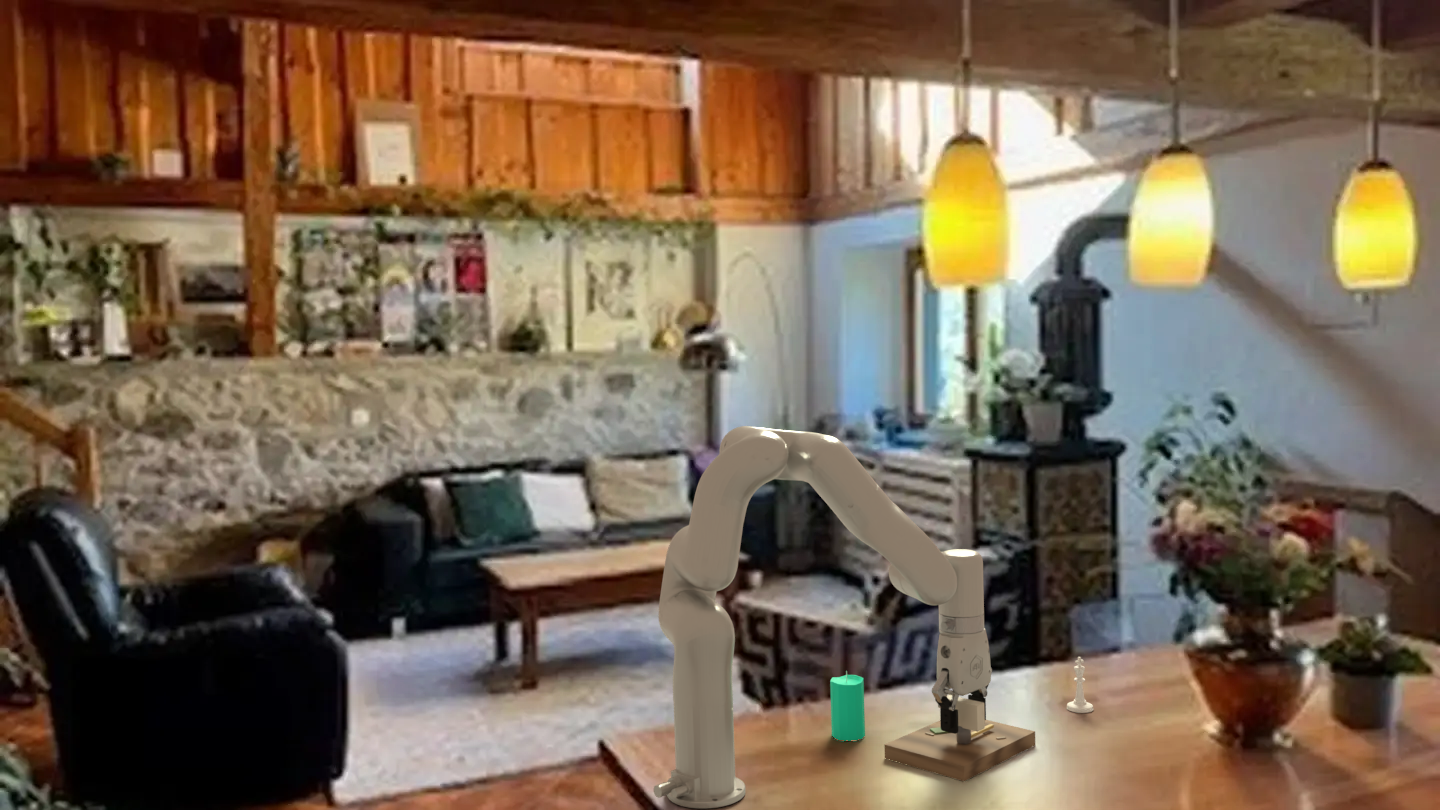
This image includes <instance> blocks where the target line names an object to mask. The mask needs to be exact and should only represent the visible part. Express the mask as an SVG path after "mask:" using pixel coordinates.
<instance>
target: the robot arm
mask: <svg viewBox="0 0 1440 810" xmlns="http://www.w3.org/2000/svg"><path fill="white" fill-rule="evenodd" d="M773 480H781V481H799V482H805V483H808V484H809V485H810V486H811V487H812V489H814V491H815V492H816V493H817V494H818V495H819V497H821V499H822V500H823V501H824V502H825V503H826V504H827V506H828V507H829V509H830V510H832V512H833V513H834V514H835V515H836V518H837V519H839V520H840V522H841V523H842V525H843V526H844V527H845V528H846V529H847V531H848V532H849V533H851V534H853V536H854V537H856V538H857V540H860V541H861V542H862V543H864V544H865V545H867V546H869V547H870V548H871V549H873V550H874V551H875V552H878V553H879V554H880V555H881V556H882V557H884V559H886V561H888V562H889V563H890V565H889V567H888V577H889V581H890V583H891V584H892V585H893V587H894V588H895V589H896V590H897V591H899V592H900V593H902V594H903V595H907V596H908V597H911V598H913V599H916V600H917V601H920V602H921V603H923V604H925V605H929V606H938V631H939V634H938V636H939V637H938V641H937V650H936V652H937V653H936V681H935V683H934V684H933V686H932V688H931V694H932V695H933V697H934V700H935V702H936V704H937V708H939V716H940V719H939V721H941V730H942V731H946V732H950V733H954V734H956V733H958V710H956V709H955V708H956V704H957V701H958V697H962V696H966V695H967V699H970V700H975V701H979V702H983V703H984V712H985V720H987V707H986V706H987V703H986V702H987V701H986V698H987V696H988V690H987V689H988V687H989V685H990V683H991V680H992V672H993V668H992V667H991V655H990V645H989V639H988V635H987V629H986V628H985V607H984V606H985V605H984V604H985V602H984V601H985V600H984V599H985V598H984V595H985V593H984V562H983V561H984V560H983V556H982V555H981V554H980V552H979V551H975V550H973V549H966V548H965V549H964V548H962V549H961V548H959V549H957V548H955V549H953V548H952V549H946V550H944V551H941V550H940V549H939V547H938V546H937V545H936V543H934V541H933V540H932V539H931V538H930V537H929V536H928V535H927V534H926V533H925V531H923V529H921V528H920V527H919V526H918V525H917V524H916V523H915V522H914V521H913V520H912V519H911V518H910V517H909V516H908V515H907V514H906V513H905V512H904V511H903V510H902V509H901V508H900V506H898V505H897V504H896V503H895V502H893V501H892V499H891V498H889V496H888V495H887V493H885V491H884V490H883V489H882V488H881V487H880V485H879V484H878V482H876V481H875V480H874V478H873V477H872V476H871V474H869V472H868V470H866V469H865V467H864V466H863V465H862V464H861V462H860V461H859V460H858V458H856V456H855V455H854V454H853V453H852V451H851V450H850V449H849V448H848V447H847V445H845V443H844V442H843V441H841V440H840V439H838V438H837V437H834V436H832V435H828V434H822V433H818V432H812V431H798V430H786V429H784V430H783V429H775V428H768V427H767V428H766V427H760V426H759V427H757V426H752V425H751V426H749V425H742V426H738V427H735V428H733V429H731V430H730V431H728V432H727V433H726V434H725V435H724V436H723V439H721V442H720V444H719V454H718V455H717V456H716V457H715V458H714V459H713V460H712V461H711V462H710V464H709V465H708V466H706V469H704V472H703V473H702V474H701V477H700V478H699V480H698V483H697V486H696V490H695V494H694V498H693V503H692V508H691V513H690V517H689V518H690V519H689V523H688V525H685V526H684V527H681V528H680V529H679V530H678V531H677V532H676V533H675V534H674V536H672V539H671V540H670V543H669V545H668V549H667V552H666V555H665V561H664V566H663V567H664V568H663V574H662V582H661V590H660V596H659V603H658V604H659V605H658V615H657V617H658V623H659V627H660V629H661V631H662V633H663V635H664V636H665V637H666V638H667V639H668V641H669V642H670V643H671V644H672V645H673V648H674V649H673V651H674V653H673V654H674V656H673V669H672V701H673V728H674V756H675V759H674V760H675V769H673V770H671V771H670V778H668V780H667V781H666V782H665V781H664V782H661V783H658V784H656V785H654V786H653V793H654V796H655V797H656V798H657V799H659V798H663V797H665V796H666V797H667V799H668V800H669V801H670V802H672V803H673V804H676V805H678V806H680V807H684V808H689V809H700V810H702V809H716V808H721V807H726V806H727V807H728V806H730V805H732V804H735V803H738V801H741V800H742V799H743V798H744V796H745V795H746V784H745V782H744V780H742V779H740V778H738V777H736V760H735V759H736V757H735V756H736V755H735V730H734V729H735V724H734V696H733V695H734V694H733V692H734V691H733V663H734V653H735V642H736V638H735V637H736V635H735V628H734V624H733V621H732V619H731V616H730V615H729V613H728V612H727V611H726V609H725V608H724V607H722V605H720V604H719V603H718V602H717V601H716V598H717V597H716V596H717V592H719V591H723V590H724V589H726V588H727V587H729V586H730V585H731V583H732V582H733V580H734V579H735V577H736V575H737V572H738V567H739V558H740V551H741V545H742V544H741V543H742V536H743V529H744V528H743V527H744V524H745V517H746V515H747V514H746V513H747V508H748V506H749V502H750V501H751V498H752V497H753V495H754V494H755V493H756V492H757V490H758V489H760V488H761V487H762V486H763V485H766V483H769V482H772V481H773ZM948 695H952V698H951V701H950V700H949V699H948V698H947V696H948Z"/></svg>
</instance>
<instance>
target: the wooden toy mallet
mask: <svg viewBox="0 0 1440 810" xmlns="http://www.w3.org/2000/svg"><path fill="white" fill-rule="evenodd" d="M947 698H948V699H949V700H950V701H951V698H952V695H947ZM955 709H956V710H958V733H957V743H959V744H969V743H971V738H973V737H975V736H977V735H979V734H981V733H983V732H985V731H988V730H990V729H992V728H994V725H993V724H989V725H987V726H985V712H984V703H983V702H979V701H975V700H970V699H968V698H965V697H962V696H959V697H958V701H957V704H956V708H955ZM971 730H973V731H974V732H972V733H971Z"/></svg>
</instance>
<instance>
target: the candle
mask: <svg viewBox="0 0 1440 810" xmlns="http://www.w3.org/2000/svg"><path fill="white" fill-rule="evenodd" d="M864 680H865V679H864V677H862V676H859V675H857V674H848V671H847V670H846V671H845V675H842V676H837V677H835V676H834V677H831V679H830V681H829V682H830V684H829V687H830V689H829V690H830V693H829V694H830V712H831V713H830V717H831V718H830V723H831V737H832V736H833V737H834V738H836V739H838V740H844V741H846V740H848V741H851V740H858V739H862V738H863V737H864V736H865V737H866V723H865V715H866V713H865V685H864V684H865V682H864ZM833 737H832V738H833ZM865 737H864V738H865ZM864 738H863V739H864ZM863 739H862V740H863ZM838 740H837V741H838ZM844 741H843V742H844Z"/></svg>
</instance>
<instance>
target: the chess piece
mask: <svg viewBox="0 0 1440 810" xmlns="http://www.w3.org/2000/svg"><path fill="white" fill-rule="evenodd" d="M1084 661H1085V660H1084V659H1082V656H1077V660H1074V663H1075V664H1077V665H1075V666H1073V669H1074V672H1075V673H1074V674H1075V676H1076V677H1074V678H1073V681H1074V682H1076V690H1075V697H1074V699H1073V701H1069V702H1067V704H1066V710H1067V711H1069V712H1072V713H1078V714H1088V713H1091V712H1093V711H1094V705H1093V704H1092V703H1090V702H1088V701H1087V700H1086V699H1085V695H1084V686H1083V683H1084V682H1086V679H1085V678H1084V677H1083V676H1084V673H1085V670H1086V667H1085V666H1083V665H1082V664H1083V663H1084Z"/></svg>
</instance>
